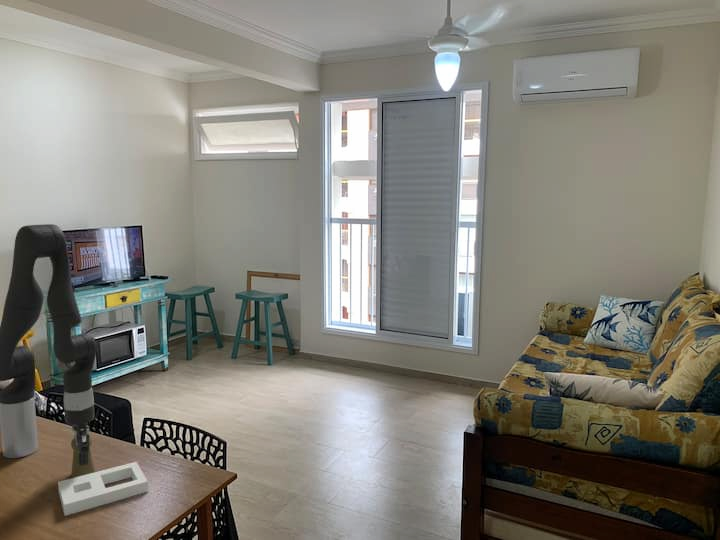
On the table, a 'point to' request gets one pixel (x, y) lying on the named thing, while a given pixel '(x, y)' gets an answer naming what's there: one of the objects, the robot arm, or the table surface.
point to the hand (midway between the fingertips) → (82, 460)
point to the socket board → (100, 488)
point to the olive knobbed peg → (76, 467)
